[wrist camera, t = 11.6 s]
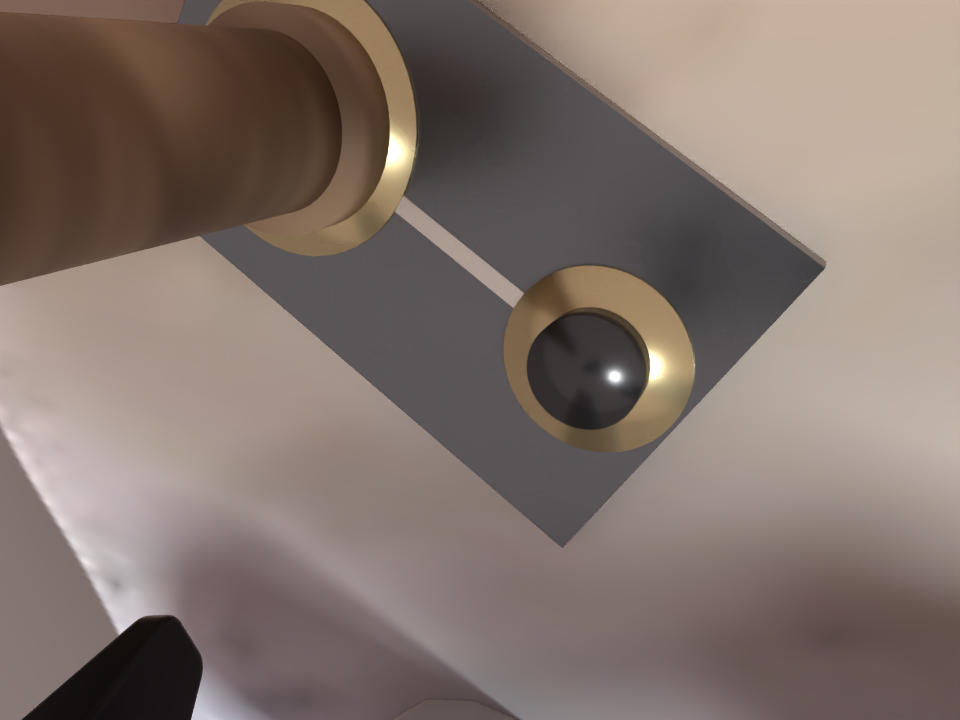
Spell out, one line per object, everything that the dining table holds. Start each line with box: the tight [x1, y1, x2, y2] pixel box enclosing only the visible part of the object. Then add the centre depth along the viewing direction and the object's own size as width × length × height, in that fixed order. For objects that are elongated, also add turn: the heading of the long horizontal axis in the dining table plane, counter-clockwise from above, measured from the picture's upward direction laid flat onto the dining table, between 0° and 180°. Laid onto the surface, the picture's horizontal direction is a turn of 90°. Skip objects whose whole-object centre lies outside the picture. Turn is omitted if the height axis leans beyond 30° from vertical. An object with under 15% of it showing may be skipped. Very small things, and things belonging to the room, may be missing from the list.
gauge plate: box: [178, 0, 826, 548], centre depth 20 cm, size 17×10×2 cm, turn 57°
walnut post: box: [0, 1, 390, 286], centre depth 15 cm, size 6×6×12 cm
